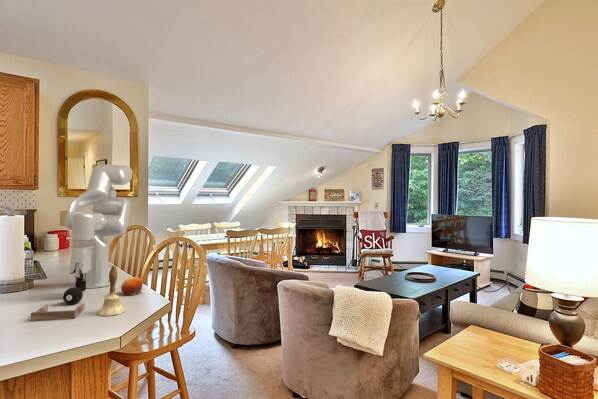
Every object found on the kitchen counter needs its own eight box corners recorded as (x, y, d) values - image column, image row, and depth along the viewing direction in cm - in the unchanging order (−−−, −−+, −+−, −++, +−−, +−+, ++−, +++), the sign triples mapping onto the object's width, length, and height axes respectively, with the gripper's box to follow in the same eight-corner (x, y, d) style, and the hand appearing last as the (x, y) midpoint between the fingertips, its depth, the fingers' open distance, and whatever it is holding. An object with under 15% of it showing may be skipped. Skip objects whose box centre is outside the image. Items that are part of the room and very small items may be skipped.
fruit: (138, 293, 135) (129, 276, 136) (122, 302, 137) (114, 284, 138) (150, 289, 143) (142, 272, 144) (136, 297, 145) (128, 280, 146)
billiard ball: (85, 301, 128) (86, 285, 128) (77, 306, 122) (78, 289, 122) (68, 301, 127) (68, 285, 127) (59, 306, 121) (60, 289, 121)
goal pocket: (44, 311, 115) (44, 304, 115) (84, 309, 119) (84, 302, 119) (30, 321, 106) (30, 313, 106) (74, 318, 109) (74, 311, 109)
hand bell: (99, 310, 119) (101, 264, 119) (125, 308, 122) (127, 263, 122) (95, 317, 111) (97, 269, 111) (124, 315, 114) (125, 267, 115)
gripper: (78, 242, 140) (76, 287, 139) (64, 246, 125) (62, 296, 124) (98, 242, 142) (96, 286, 141) (87, 246, 127) (85, 295, 127)
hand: (80, 291), depth 133 cm, fingers closed
